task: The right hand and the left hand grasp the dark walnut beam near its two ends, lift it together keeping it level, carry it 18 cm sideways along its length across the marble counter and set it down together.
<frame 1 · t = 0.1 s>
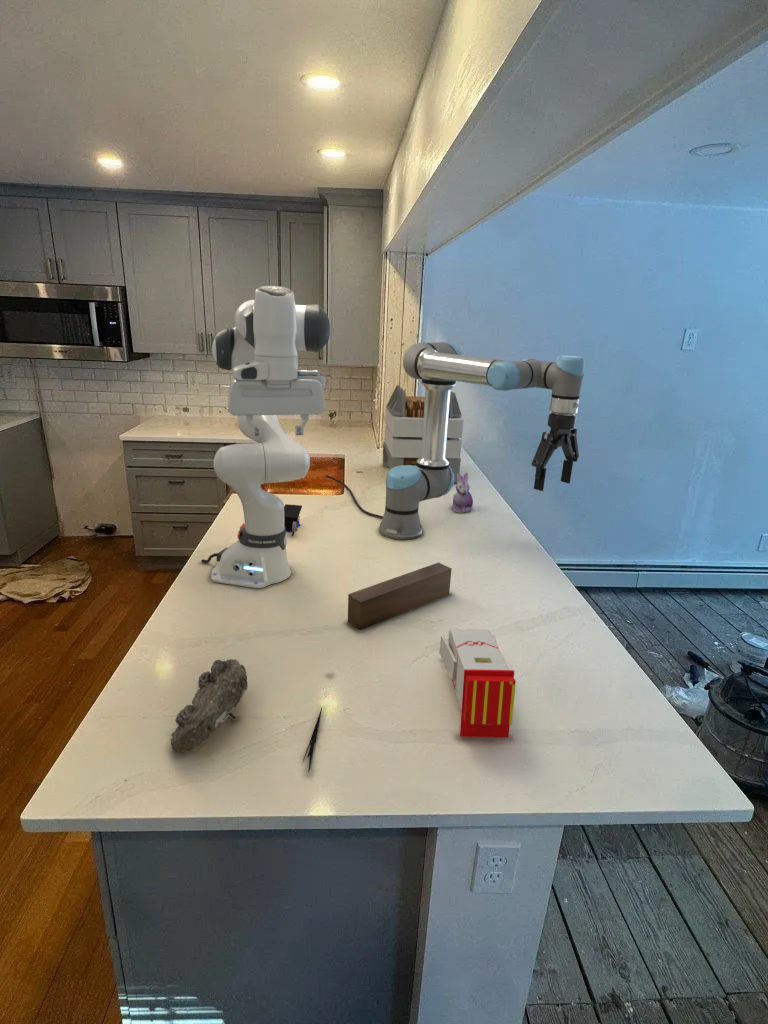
left hand: (277, 435, 123), 48 cm above the counter, fingers open, 8 cm apart
right hand: (552, 486, 166), 28 cm above the counter, fingers open, 13 cm apart
walnut beam: (401, 607, 151), on the counter
feather: (319, 719, 109), on the counter
figurine: (462, 509, 227), on the counter
fossil: (215, 716, 108), on the counter
figurine character: (290, 530, 198), on the counter
toy: (471, 691, 119), on the counter
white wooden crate: (418, 473, 275), on the counter
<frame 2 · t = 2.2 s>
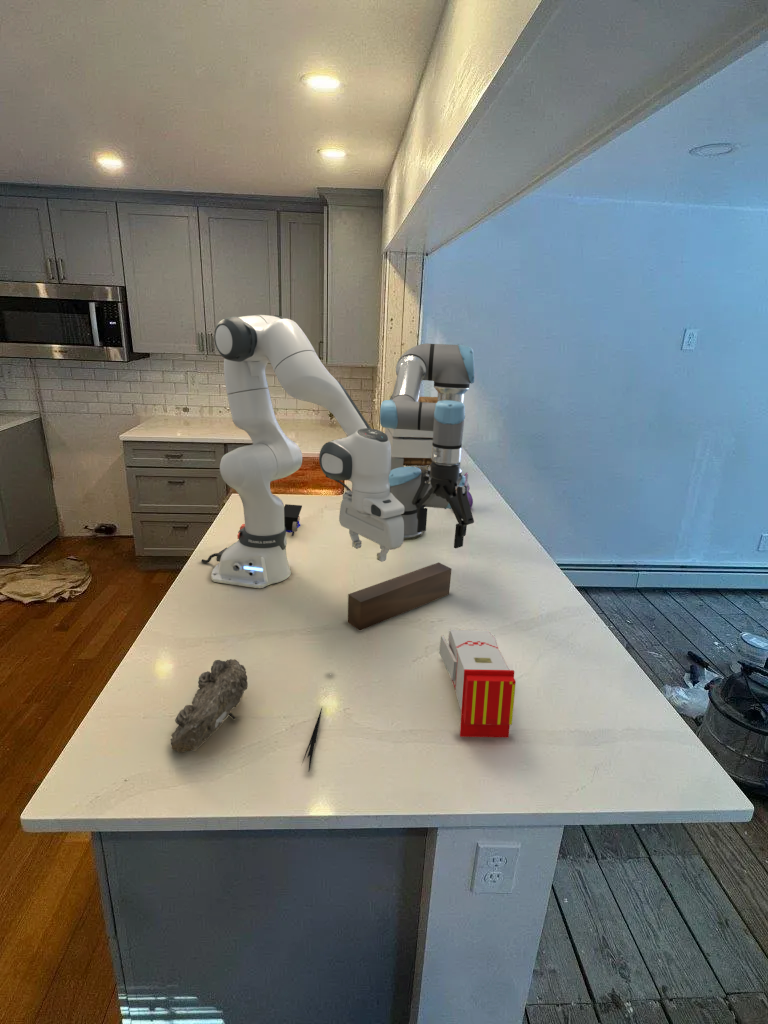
left hand: (368, 553, 137), 19 cm above the counter, fingers open, 8 cm apart
right hand: (439, 539, 153), 17 cm above the counter, fingers open, 13 cm apart
nothing on the counter moved.
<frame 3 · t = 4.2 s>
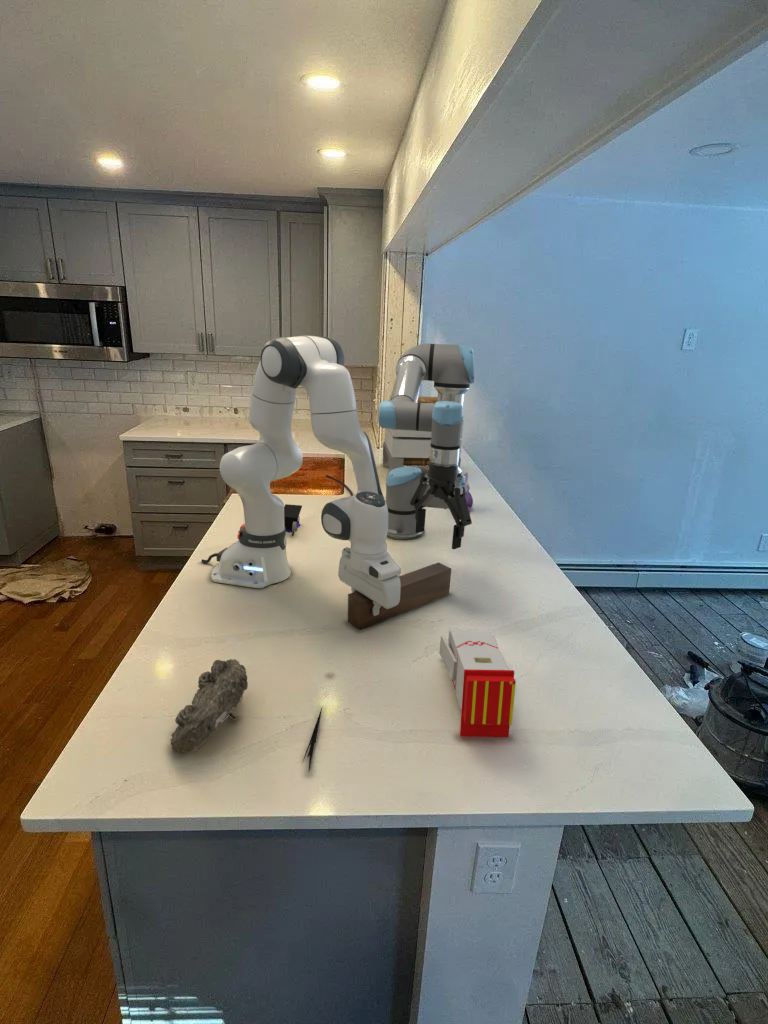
left hand: (366, 609, 142), 4 cm above the counter, fingers closed on walnut beam, 5 cm apart
right hand: (437, 539, 153), 17 cm above the counter, fingers open, 13 cm apart
walnut beam: (401, 607, 151), on the counter, touching left hand
everything else where it was.
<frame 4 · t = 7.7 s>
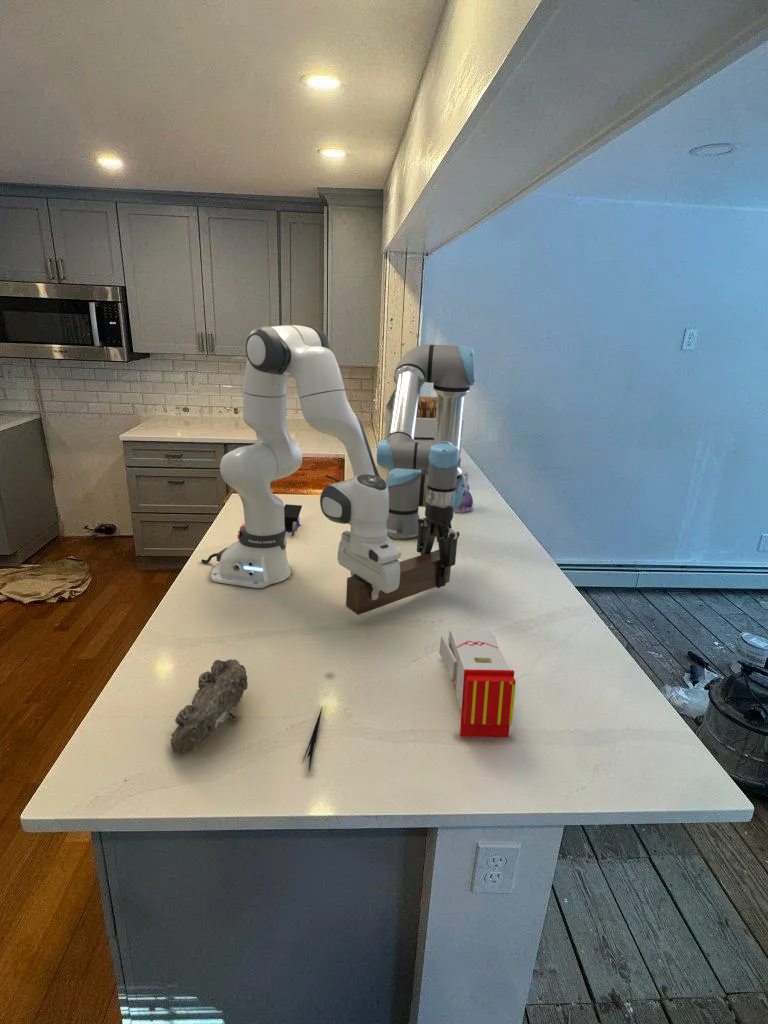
left hand: (365, 593, 141), 8 cm above the counter, fingers closed on walnut beam, 5 cm apart
right hand: (433, 582, 157), 4 cm above the counter, fingers closed on walnut beam, 5 cm apart
walnut beam: (400, 593, 150), point 4 cm above the counter, touching right hand, left hand
everything else where it was.
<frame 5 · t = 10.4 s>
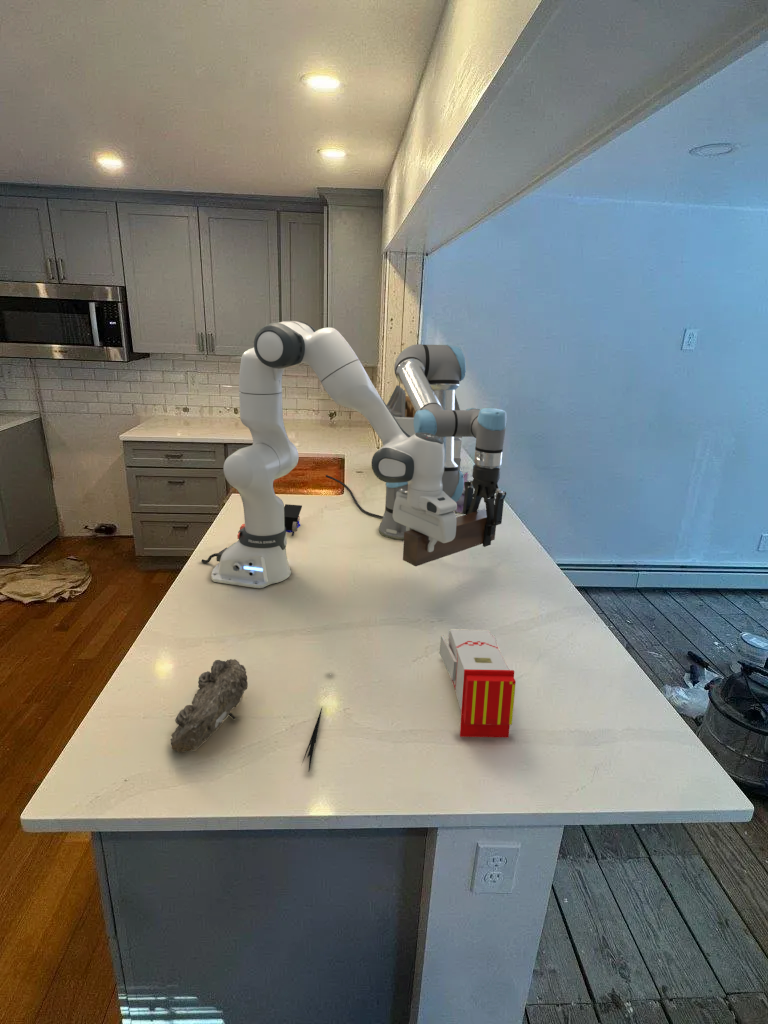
left hand: (420, 546, 149), 16 cm above the counter, fingers closed on walnut beam, 5 cm apart
right hand: (478, 542, 166), 12 cm above the counter, fingers closed on walnut beam, 5 cm apart
walnut beam: (451, 549, 158), point 12 cm above the counter, touching right hand, left hand
everything else where it was.
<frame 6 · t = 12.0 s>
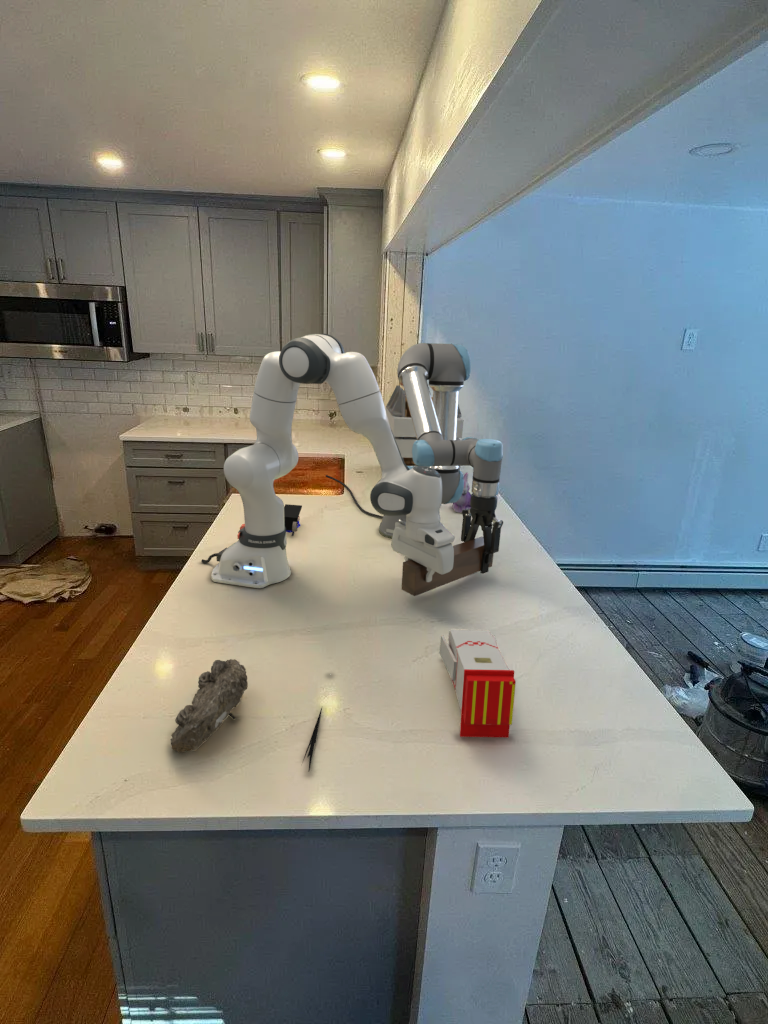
left hand: (419, 576, 152), 8 cm above the counter, fingers closed on walnut beam, 5 cm apart
right hand: (476, 568, 168), 3 cm above the counter, fingers closed on walnut beam, 5 cm apart
walnut beam: (449, 577, 161), point 4 cm above the counter, touching right hand, left hand
everything else where it was.
when the left hand's fingers open (4 cm above the counter, at t = 13.1 s): walnut beam stays where it is, on the counter.
when the right hand's fingers open (0 cm above the counter, at t = 13.1 s): walnut beam stays where it is, on the counter.
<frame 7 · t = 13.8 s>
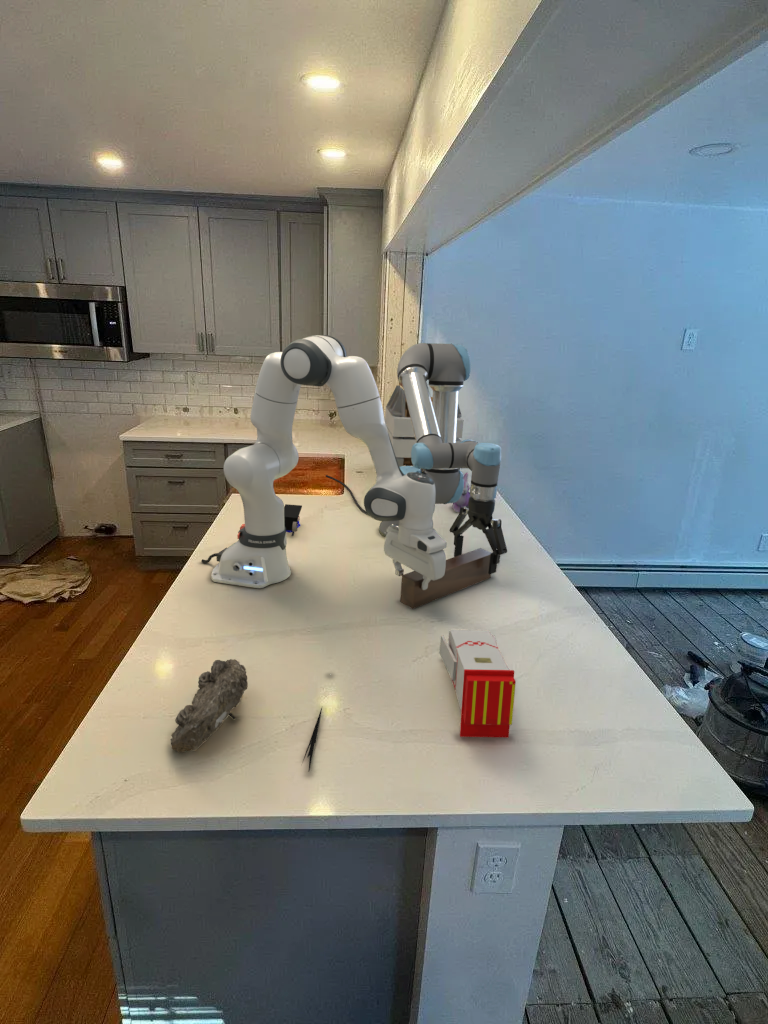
left hand: (411, 581, 153), 6 cm above the counter, fingers open, 8 cm apart
right hand: (474, 564, 170), 4 cm above the counter, fingers open, 13 cm apart
walnut beam: (447, 589, 162), on the counter, touching left hand
everything else where it was.
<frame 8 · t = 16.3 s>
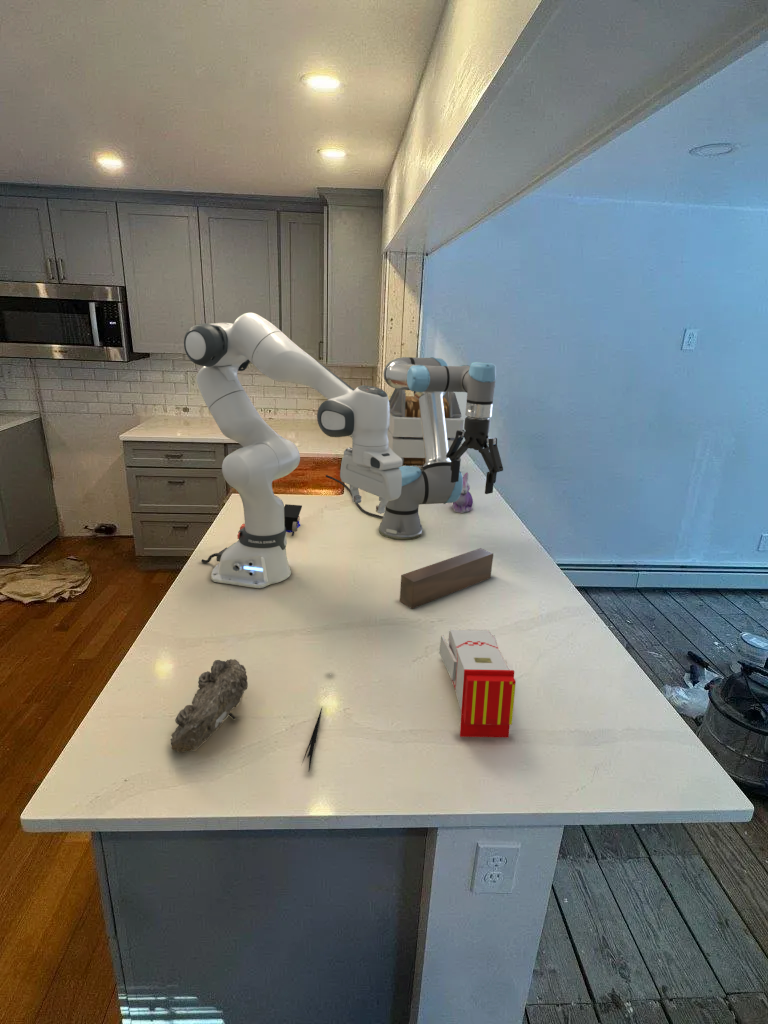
left hand: (368, 507, 143), 27 cm above the counter, fingers open, 8 cm apart
right hand: (471, 487, 172), 25 cm above the counter, fingers open, 13 cm apart
walnut beam: (447, 589, 162), on the counter
everything else where it was.
at the end: walnut beam inside the target area (0.1 cm from its centre), on the counter; both hands held the walnut beam at the same time; walnut beam never tilted more than 10° during the clip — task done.
